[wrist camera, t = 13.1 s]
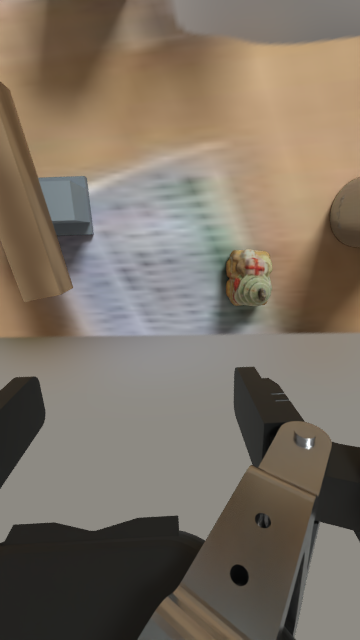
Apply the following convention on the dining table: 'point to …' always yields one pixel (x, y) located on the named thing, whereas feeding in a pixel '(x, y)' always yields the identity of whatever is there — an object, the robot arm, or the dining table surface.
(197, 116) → the dining table surface
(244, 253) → the ornament
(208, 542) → the robot arm
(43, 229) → the walnut bar
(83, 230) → the fulcrum ridge
